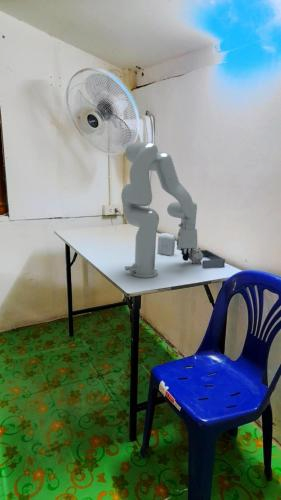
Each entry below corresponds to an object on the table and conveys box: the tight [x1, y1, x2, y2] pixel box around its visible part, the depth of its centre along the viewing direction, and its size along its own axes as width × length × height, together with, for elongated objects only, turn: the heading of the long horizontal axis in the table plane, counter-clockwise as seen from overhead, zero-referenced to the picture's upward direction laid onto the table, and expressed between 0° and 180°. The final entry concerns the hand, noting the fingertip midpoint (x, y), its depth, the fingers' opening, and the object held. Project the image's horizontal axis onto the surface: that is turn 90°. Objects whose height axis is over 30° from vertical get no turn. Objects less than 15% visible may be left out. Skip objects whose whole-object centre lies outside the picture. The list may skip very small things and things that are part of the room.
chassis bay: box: [189, 249, 226, 270], centre depth 177 cm, size 14×19×4 cm
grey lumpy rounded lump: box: [188, 248, 205, 265], centre depth 174 cm, size 9×8×10 cm
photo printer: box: [157, 232, 176, 257], centre depth 188 cm, size 10×4×12 cm, turn 60°
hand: (185, 260), depth 173 cm, fingers closed
